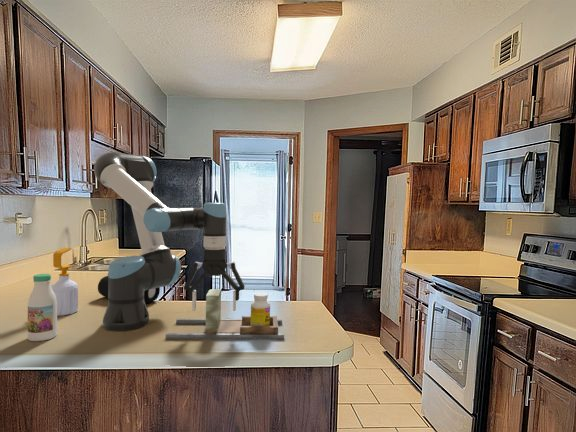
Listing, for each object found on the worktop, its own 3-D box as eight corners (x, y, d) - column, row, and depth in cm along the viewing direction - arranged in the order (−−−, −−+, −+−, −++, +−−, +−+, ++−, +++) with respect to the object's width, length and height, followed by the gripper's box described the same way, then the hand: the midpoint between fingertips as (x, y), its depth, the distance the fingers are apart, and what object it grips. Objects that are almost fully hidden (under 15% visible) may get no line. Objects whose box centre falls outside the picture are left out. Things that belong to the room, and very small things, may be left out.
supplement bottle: (266, 335, 123) (267, 297, 122) (247, 333, 124) (248, 296, 124) (271, 328, 130) (272, 292, 129) (253, 326, 131) (254, 291, 130)
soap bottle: (83, 310, 143) (83, 248, 141) (60, 317, 134) (59, 251, 133) (68, 307, 146) (67, 246, 145) (44, 313, 138) (44, 249, 137)
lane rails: (165, 339, 117) (165, 334, 117) (177, 322, 133) (177, 318, 133) (284, 339, 120) (284, 334, 120) (281, 323, 135) (282, 319, 135)
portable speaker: (161, 300, 160) (161, 277, 160) (146, 306, 151) (146, 282, 150) (112, 294, 168) (113, 272, 167) (95, 299, 158) (95, 276, 158)
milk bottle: (37, 332, 120) (36, 272, 119) (61, 332, 120) (61, 272, 119) (22, 342, 112) (21, 277, 111) (48, 342, 113) (48, 277, 112)
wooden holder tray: (203, 336, 120) (203, 296, 119) (208, 323, 131) (209, 288, 131) (277, 336, 122) (278, 297, 121) (276, 324, 133) (277, 288, 132)
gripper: (174, 249, 120) (174, 313, 121) (251, 249, 121) (250, 313, 122) (179, 246, 127) (179, 306, 128) (252, 246, 129) (251, 306, 130)
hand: (214, 310), depth 125 cm, fingers open, 13 cm apart
